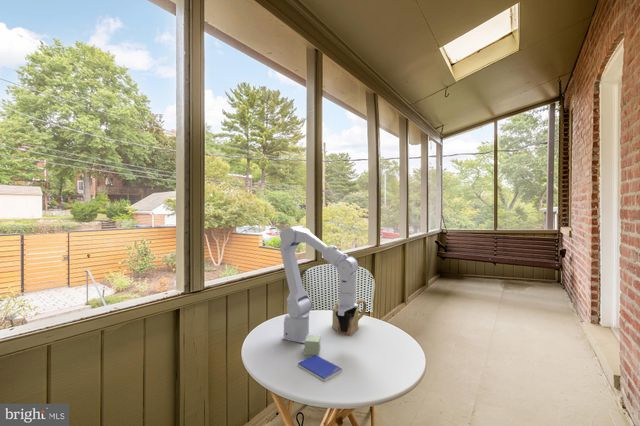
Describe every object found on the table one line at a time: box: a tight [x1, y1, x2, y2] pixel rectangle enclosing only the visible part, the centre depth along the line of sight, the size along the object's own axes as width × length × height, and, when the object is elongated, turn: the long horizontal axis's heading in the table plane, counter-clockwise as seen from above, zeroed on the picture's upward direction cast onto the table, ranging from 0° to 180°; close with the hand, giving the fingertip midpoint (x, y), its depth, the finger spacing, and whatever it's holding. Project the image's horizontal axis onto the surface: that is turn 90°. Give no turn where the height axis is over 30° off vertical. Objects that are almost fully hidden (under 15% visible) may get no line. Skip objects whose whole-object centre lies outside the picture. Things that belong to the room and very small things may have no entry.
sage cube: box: [304, 334, 321, 356], centre depth 115 cm, size 5×5×5 cm
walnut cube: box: [337, 317, 356, 337], centre depth 115 cm, size 5×5×5 cm
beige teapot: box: [332, 299, 367, 332], centre depth 138 cm, size 15×11×15 cm
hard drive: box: [297, 355, 343, 382], centre depth 104 cm, size 2×8×12 cm
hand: (346, 328), depth 115 cm, fingers closed on walnut cube, 5 cm apart
